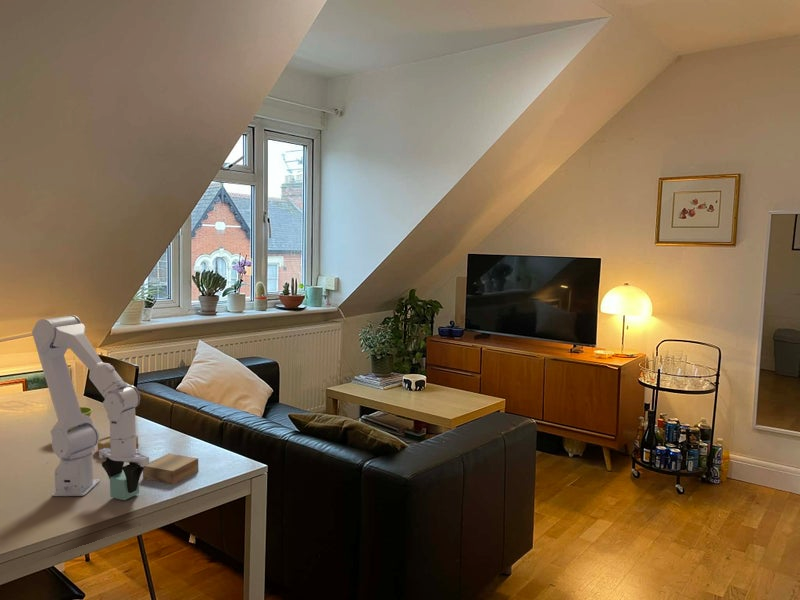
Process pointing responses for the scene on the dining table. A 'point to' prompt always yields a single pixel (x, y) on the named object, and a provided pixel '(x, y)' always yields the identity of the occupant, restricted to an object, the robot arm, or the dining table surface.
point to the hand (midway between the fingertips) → (124, 489)
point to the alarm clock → (106, 443)
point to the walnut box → (170, 468)
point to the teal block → (120, 487)
